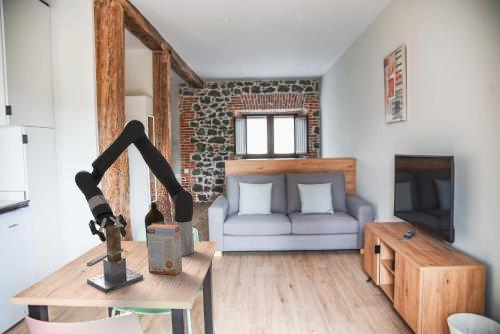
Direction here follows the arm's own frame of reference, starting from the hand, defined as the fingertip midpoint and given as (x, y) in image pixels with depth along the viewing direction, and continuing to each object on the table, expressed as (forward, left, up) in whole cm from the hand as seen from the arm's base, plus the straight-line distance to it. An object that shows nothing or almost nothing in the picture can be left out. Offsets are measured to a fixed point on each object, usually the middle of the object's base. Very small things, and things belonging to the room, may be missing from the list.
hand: (115, 238), depth 128 cm
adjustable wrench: (+19, -31, -19) cm, 41 cm away
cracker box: (-18, -9, -18) cm, 27 cm away
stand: (+1, -1, -18) cm, 18 cm away
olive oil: (-3, -46, -18) cm, 50 cm away
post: (+1, -1, -12) cm, 12 cm away
